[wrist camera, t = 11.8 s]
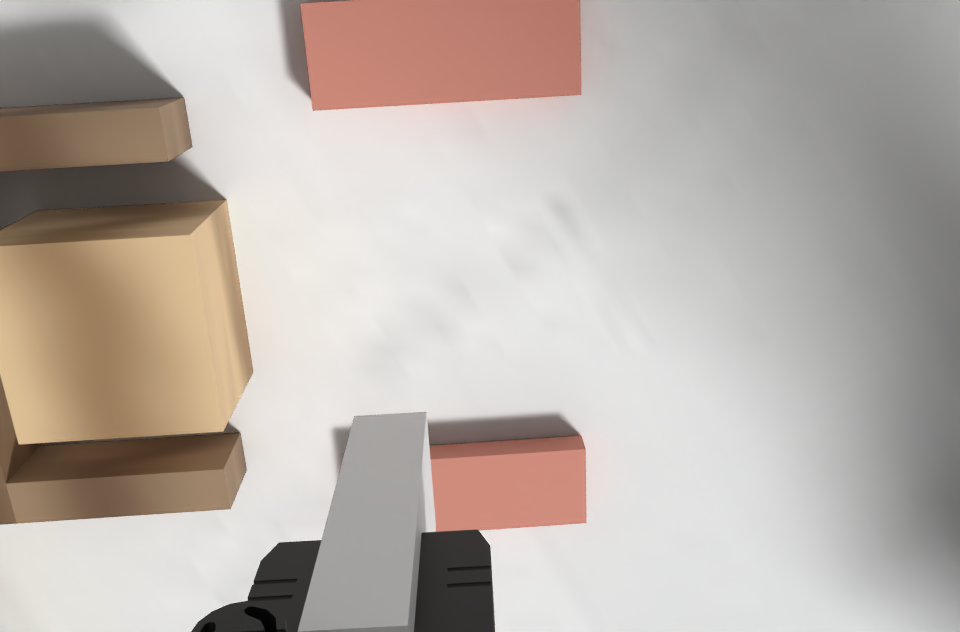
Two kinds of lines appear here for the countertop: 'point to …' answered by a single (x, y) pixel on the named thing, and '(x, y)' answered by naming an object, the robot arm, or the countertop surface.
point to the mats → (443, 79)
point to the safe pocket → (113, 464)
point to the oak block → (121, 322)
